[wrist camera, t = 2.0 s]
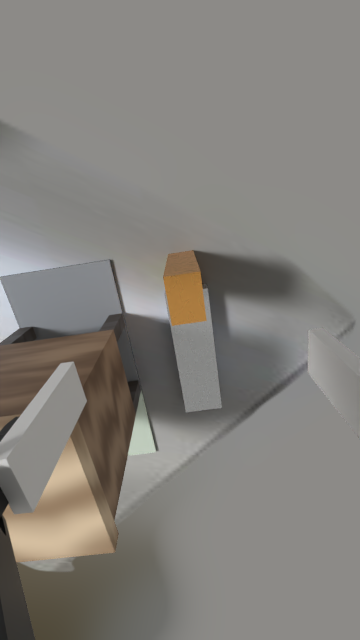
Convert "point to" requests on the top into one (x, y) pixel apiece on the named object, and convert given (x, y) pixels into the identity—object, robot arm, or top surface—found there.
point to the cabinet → (73, 441)
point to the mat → (77, 318)
